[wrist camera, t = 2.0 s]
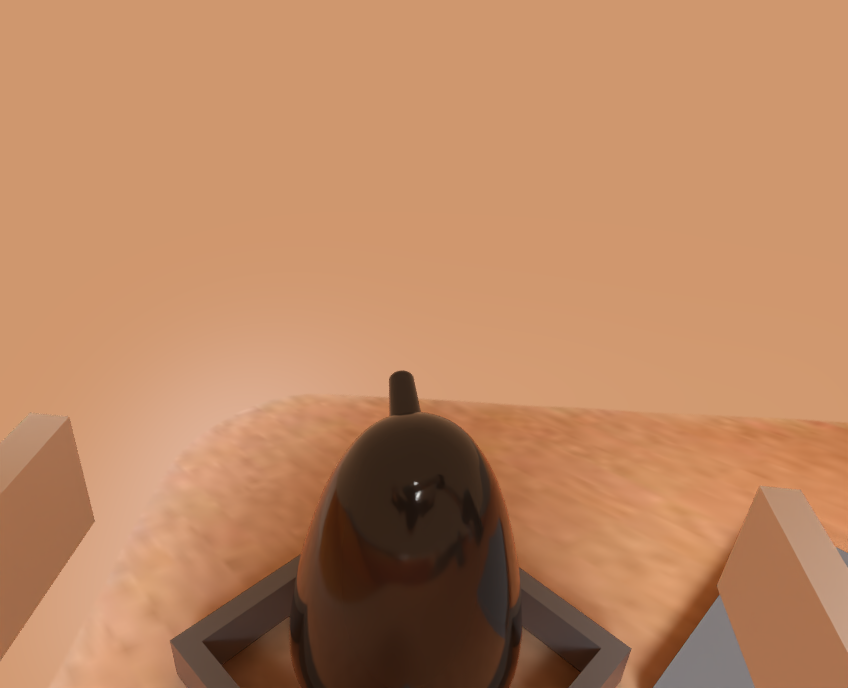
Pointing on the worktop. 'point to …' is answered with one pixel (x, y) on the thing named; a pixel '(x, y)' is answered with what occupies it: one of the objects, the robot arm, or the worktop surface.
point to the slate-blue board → (711, 654)
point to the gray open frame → (271, 604)
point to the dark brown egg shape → (408, 563)
